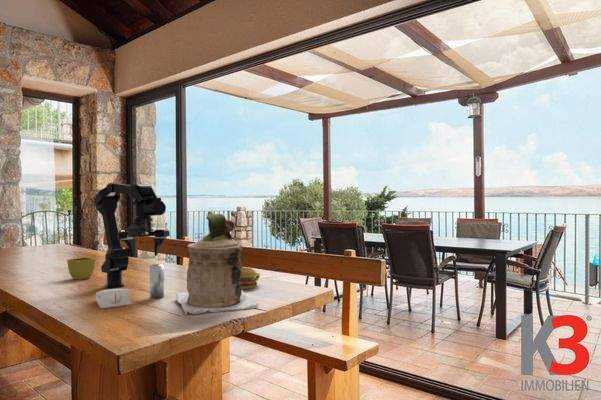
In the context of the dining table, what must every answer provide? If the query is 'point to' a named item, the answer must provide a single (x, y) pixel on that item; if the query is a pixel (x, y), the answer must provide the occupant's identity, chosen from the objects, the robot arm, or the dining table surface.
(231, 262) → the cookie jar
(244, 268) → the food
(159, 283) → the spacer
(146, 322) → the dining table surface
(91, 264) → the flower pot
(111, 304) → the scale
